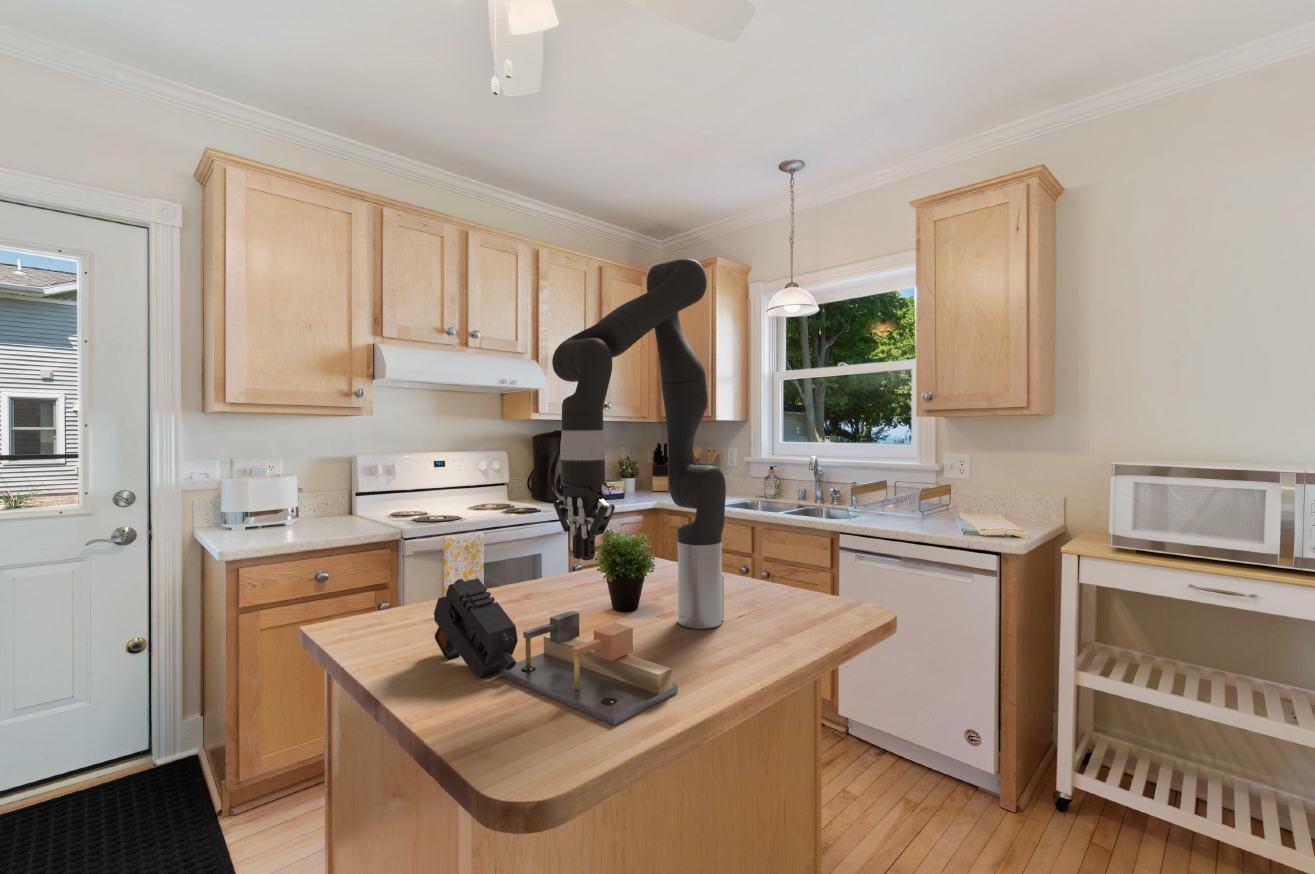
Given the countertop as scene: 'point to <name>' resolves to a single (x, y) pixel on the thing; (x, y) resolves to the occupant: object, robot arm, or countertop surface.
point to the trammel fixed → (622, 668)
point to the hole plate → (584, 688)
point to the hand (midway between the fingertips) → (583, 558)
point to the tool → (475, 628)
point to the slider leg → (605, 646)
